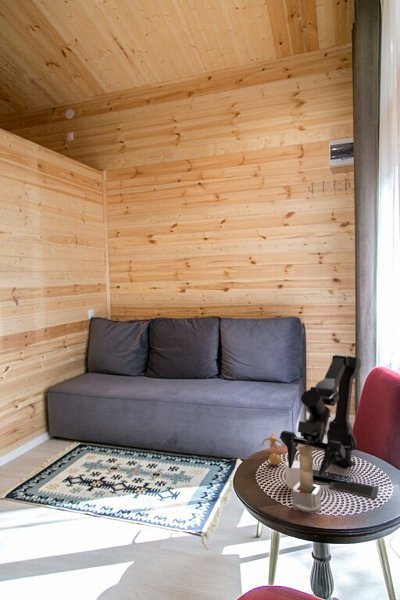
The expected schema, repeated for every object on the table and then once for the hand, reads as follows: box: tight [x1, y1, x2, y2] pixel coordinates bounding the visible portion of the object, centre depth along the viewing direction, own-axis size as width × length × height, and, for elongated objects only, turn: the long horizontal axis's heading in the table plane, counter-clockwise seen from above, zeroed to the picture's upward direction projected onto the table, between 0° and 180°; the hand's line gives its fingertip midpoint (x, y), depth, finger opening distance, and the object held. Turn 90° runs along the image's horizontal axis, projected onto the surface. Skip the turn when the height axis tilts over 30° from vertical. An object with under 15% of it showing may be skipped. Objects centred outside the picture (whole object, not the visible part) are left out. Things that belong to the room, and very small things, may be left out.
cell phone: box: [328, 481, 379, 500], centre depth 128 cm, size 7×14×1 cm, turn 59°
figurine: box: [261, 433, 286, 466], centre depth 146 cm, size 8×6×12 cm
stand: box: [292, 482, 322, 513], centre depth 120 cm, size 8×8×5 cm
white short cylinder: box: [283, 459, 300, 490], centre depth 132 cm, size 7×7×7 cm
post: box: [298, 445, 314, 492], centre depth 119 cm, size 4×4×12 cm
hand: (304, 471), depth 118 cm, fingers open, 9 cm apart
